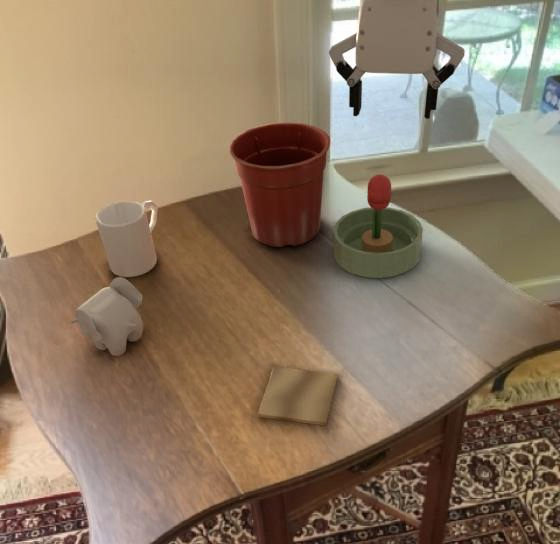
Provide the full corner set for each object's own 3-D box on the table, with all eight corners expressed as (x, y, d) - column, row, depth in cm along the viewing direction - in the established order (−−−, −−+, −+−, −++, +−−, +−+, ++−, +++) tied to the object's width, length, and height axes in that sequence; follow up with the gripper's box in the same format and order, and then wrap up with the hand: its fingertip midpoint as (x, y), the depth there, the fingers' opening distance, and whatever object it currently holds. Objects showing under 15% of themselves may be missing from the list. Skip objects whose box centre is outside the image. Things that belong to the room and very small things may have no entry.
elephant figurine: (106, 309, 104) (91, 263, 98) (164, 332, 99) (152, 285, 93) (62, 345, 98) (43, 298, 92) (122, 371, 93) (106, 323, 87)
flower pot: (239, 210, 123) (229, 126, 112) (326, 202, 123) (324, 117, 112) (240, 259, 112) (228, 171, 100) (337, 251, 111) (336, 162, 100)
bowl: (423, 235, 113) (425, 209, 110) (416, 284, 103) (418, 257, 100) (341, 229, 116) (341, 204, 113) (327, 277, 106) (326, 251, 103)
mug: (181, 247, 116) (171, 196, 109) (134, 282, 109) (120, 231, 102) (148, 235, 119) (136, 185, 112) (100, 269, 112) (84, 218, 106)
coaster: (337, 376, 90) (337, 373, 89) (326, 425, 83) (325, 422, 83) (274, 369, 92) (273, 366, 91) (257, 416, 85) (257, 413, 85)
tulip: (393, 245, 110) (398, 168, 101) (390, 262, 107) (394, 184, 97) (364, 243, 111) (365, 167, 102) (359, 259, 108) (361, 183, 98)
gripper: (475, -37, 79) (457, 104, 91) (334, -36, 83) (334, 100, 95) (474, -20, 74) (455, 127, 86) (323, -19, 78) (325, 122, 90)
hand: (392, 113), depth 90 cm, fingers open, 9 cm apart
